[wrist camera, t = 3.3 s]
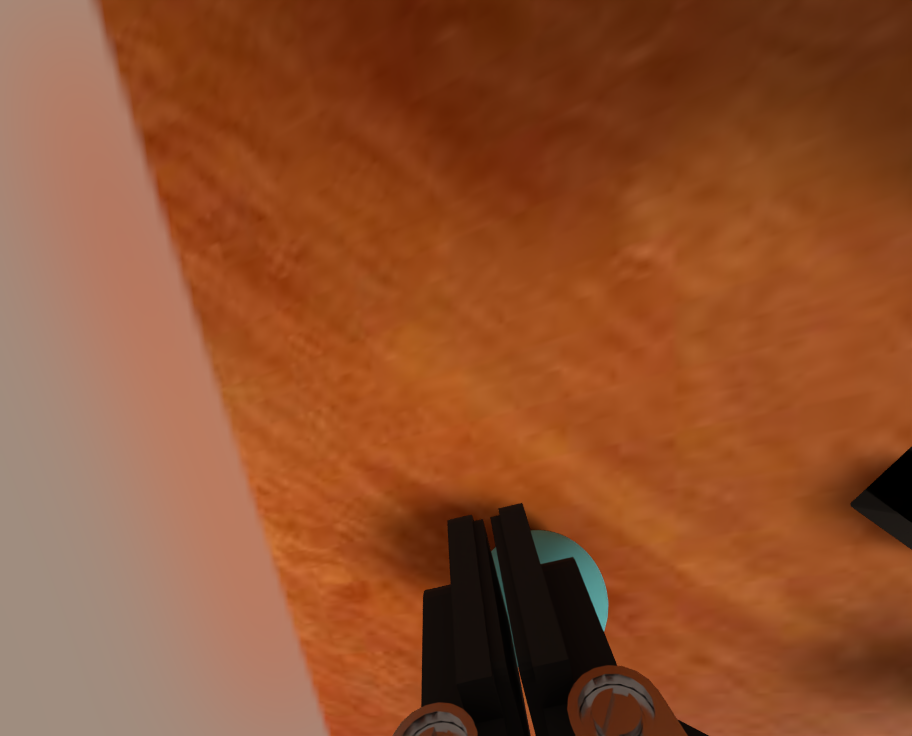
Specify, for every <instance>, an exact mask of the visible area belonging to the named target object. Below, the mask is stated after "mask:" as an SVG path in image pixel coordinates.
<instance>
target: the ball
mask: <svg viewBox="0 0 912 736" xmlns="http://www.w3.org/2000/svg"><path fill="white" fill-rule="evenodd" d="M531 534H532V537H533V540H534V544H535V547H536V551H537V554H538V557H539V561H540V564H543V563H548V562H552V561H556V560H561V559H565V558H570V557H574V559H575V561H576V563H577V565H578V568H579V570H580V573H581V575H582V578H583V581H584V583H585V586H586V588H587V591H588V593H589V596H590V598H591V601H592V603H593V606H594V608H595V611H596V613H597V616H598V618H599V621H600V624H601V626H602V629H603V631H604V630H605V626H606V622H607V616H608V597H607V590H606V587H605V583H604V580H603V577H602V575H601V573H600V571H599V569H598V567H597V565H596V564H595V562H594V561H593V559H592V558H591V557H590V555H589V554H588V553H587V552H586V551H585V550H584V549H583V548H582V547H581V546H579V545H578V544H577V543H576V542H574V541H572V540H571V539H569V538H567V537H565V536H563V535H561V534H558V533H555V532H551V531H545V530H531ZM491 552H492V556H493V560H494V564H495V568H496V572H497V576H498V580H499V583H500V587H501V591H502V595H503V599H504V603H505V607H506V611H507V615H508V610H507V605H506V599H505V594H504V589H503V583H502V578H501V572H500V567H499V562H498V556H497V551H496V547H495V548H494V549H493V550H492V551H491ZM508 619H509V615H508ZM509 623H510V621H509ZM510 628H511V626H510ZM511 633H512V631H511ZM512 639H513V637H512ZM513 644H514V642H513ZM514 649H515V648H514ZM515 655H516V653H515ZM516 660H517V658H516ZM517 666H518V663H517Z"/></svg>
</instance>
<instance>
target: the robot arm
mask: <svg viewBox="0 0 912 736" xmlns="http://www.w3.org/2000/svg"><path fill="white" fill-rule="evenodd" d="M498 509H499V514H500V515H498V516H494V517H490V519H491V524H492V529H493V535H494V540H495V546H496V551H497V556H498V562H499V567H500V572H501V578H502V583H503V589H504V594H505V599H506V605H507V610H508V615H509V619H508V615H507V611H506V607H505V603H504V599H503V595H502V591H501V587H500V583H499V580H498V576H497V572H496V568H495V564H494V560H493V556H492V552H491V549H490V545H489V541H488V537H487V533H486V529H485V525H484V522H483V519H481V520H477V521H474V520H473V516H472V515H468V516H463V517H459V518H455V519H450V520H448V542H449V561H450V579H451V584H450V585H446V586H442V587H437V588H433V589H428V590H425V591H424V594H423V638H422V702H421V708H419V709H417V710H416V711H414V712H412V713H411V714H410V715H409V716H408V717H407V718H406V719H404V720H403V721H402V722H401V724H400V725H399V727H398V728H397V730H396V731H395V733H394V734H393V736H530V730H529V725H528V719H527V714H526V709H525V703H524V698H523V692H522V687H521V682H520V676H521V680H522V684H523V688H524V692H525V696H526V700H527V704H528V707H529V711H530V715H531V719H532V723H533V727H534V730H535V734H536V736H708V735H706V734H705V733H703V732H701V731H699V730H697V729H695V728H693V727H691V726H689V725H687V724H685V723H683V722H681V721H680V720H678V719H677V718H676V717H675V715H674V714H673V712H672V710H671V709H670V707H669V706H668V704H667V703H666V701H665V700H664V698H663V697H662V695H661V693H660V692H659V690H658V689H657V688H656V687H655V686H654V685H653V684H652V682H651V681H650V680H649V679H648V678H646V677H645V676H643V675H642V674H640V673H639V672H637V671H635V670H632V669H629V668H626V667H623V666H617V664H616V661H615V659H614V656H613V654H612V651H611V649H610V646H609V644H608V641H607V639H606V636H605V634H604V631H603V629H602V626H601V624H600V621H599V618H598V616H597V613H596V611H595V608H594V606H593V603H592V601H591V598H590V596H589V593H588V591H587V588H586V586H585V583H584V581H583V578H582V575H581V573H580V570H579V568H578V565H577V563H576V561H575V559H574V557H570V558H565V559H561V560H556V561H552V562H548V563H543V564H540V561H539V557H538V554H537V551H536V547H535V544H534V540H533V537H532V534H531V530H530V527H529V524H528V520H527V517H526V514H525V510H524V507H523V504H522V503H520V504H516V505H511V506H507V507H503V508H498ZM509 621H510V623H509ZM510 626H511V628H510ZM511 631H512V633H511ZM512 637H513V639H512ZM513 642H514V644H513ZM514 648H515V649H514ZM515 653H516V655H515ZM516 658H517V660H516ZM517 663H518V666H517ZM518 667H519V671H518ZM519 672H520V676H519Z"/></svg>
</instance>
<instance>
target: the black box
mask: <svg viewBox="0 0 912 736" xmlns="http://www.w3.org/2000/svg"><path fill="white" fill-rule="evenodd" d="M851 507H853V508H854V509H855V510H857V511H858V512H860V513H861V514H862V515H864V516H865V517H867V518H868V519H869V520H871V521H872V522H874V523H875V524H876V525H878V526H879V527H881V528H882V529H884V530H885V531H886V532H888V533H889V534H891V535H892V536H893V537H895V538H896V539H898V540H899V541H900V542H902V543H903V544H905V545H906V546H907V547H909V548H910V549H912V447H911V448H910V449H908V450H907V451H906V452H905V453H904V454H903V455H902V456H901V457H900V458H899V459H898V460H897V461H896V462H894V463H893V464H892V465H891V466H890V467H889V468H888V469H887V470H886V471H885V472H884V473H883V474H881V475H880V476H879V477H878V478H877V479H876V480H875V481H874V482H873V483H872V484H871V485H870V486H869V487H867V488H866V489H865V490H864V491H863V492H862V493H861V494H860V495H859V496H858V497H857V498H856V499H855V500H853V501H852V502H851Z"/></svg>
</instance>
